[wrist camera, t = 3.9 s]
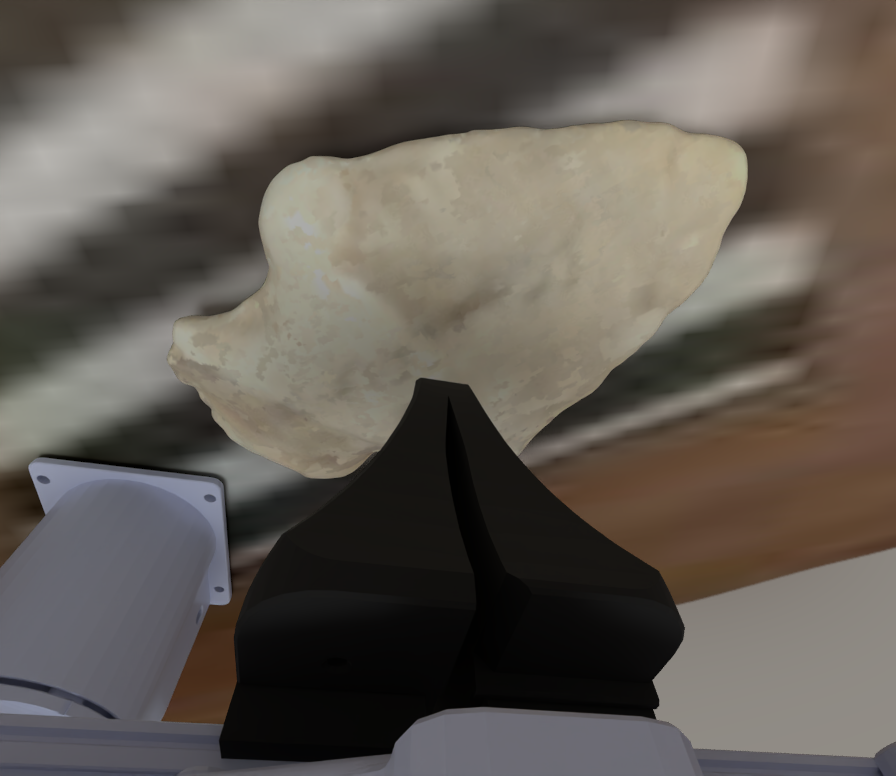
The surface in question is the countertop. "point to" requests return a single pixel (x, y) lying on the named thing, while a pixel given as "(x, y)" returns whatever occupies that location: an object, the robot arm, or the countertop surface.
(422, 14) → the countertop surface
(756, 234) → the countertop surface
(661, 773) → the robot arm
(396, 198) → the rock
